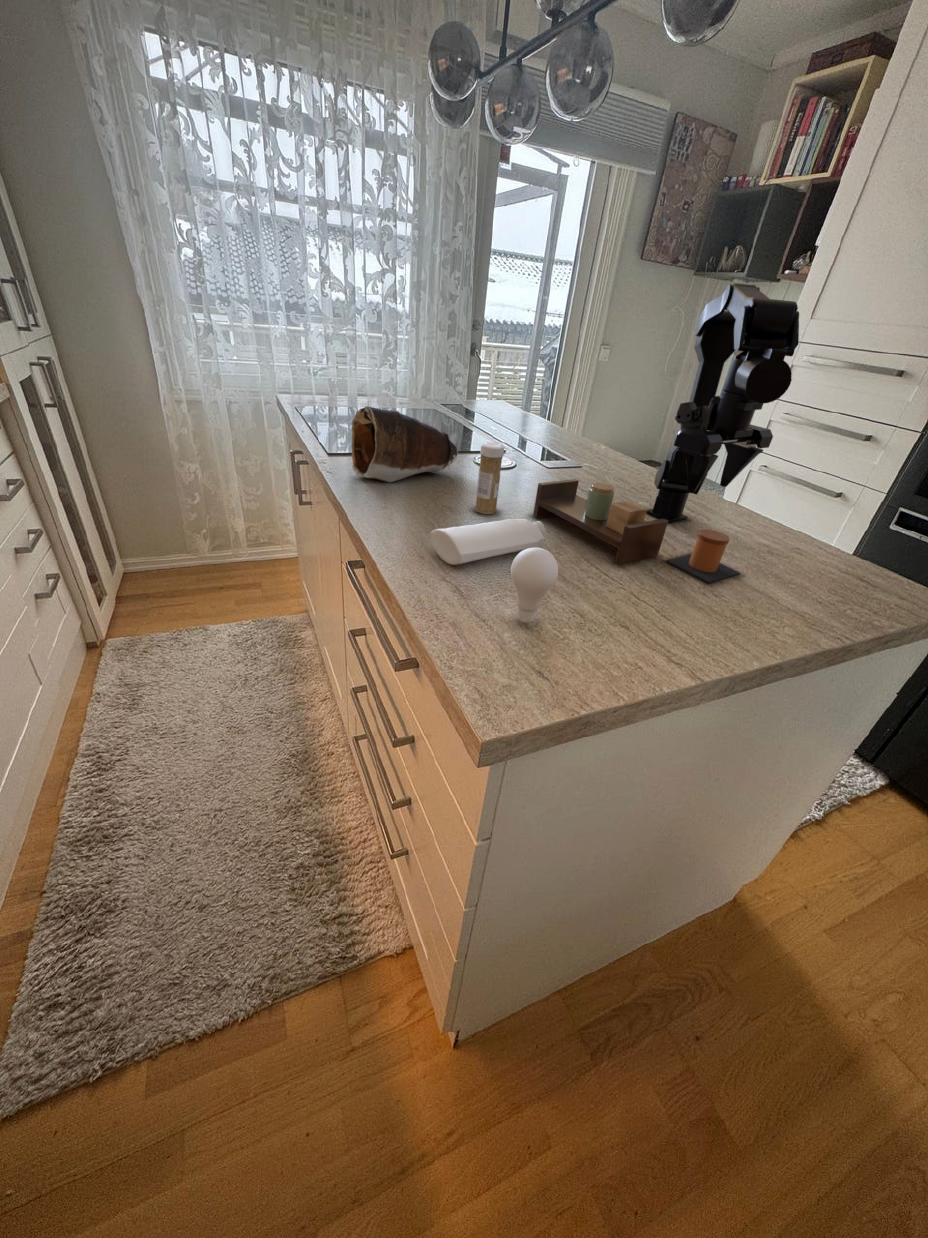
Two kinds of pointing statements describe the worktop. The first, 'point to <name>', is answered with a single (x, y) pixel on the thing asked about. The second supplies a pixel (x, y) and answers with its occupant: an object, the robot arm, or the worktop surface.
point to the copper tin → (708, 550)
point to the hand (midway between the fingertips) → (707, 489)
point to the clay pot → (397, 446)
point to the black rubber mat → (706, 577)
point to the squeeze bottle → (486, 539)
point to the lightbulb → (532, 580)
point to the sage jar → (599, 501)
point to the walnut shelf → (599, 522)
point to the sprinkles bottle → (489, 477)
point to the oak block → (625, 515)
